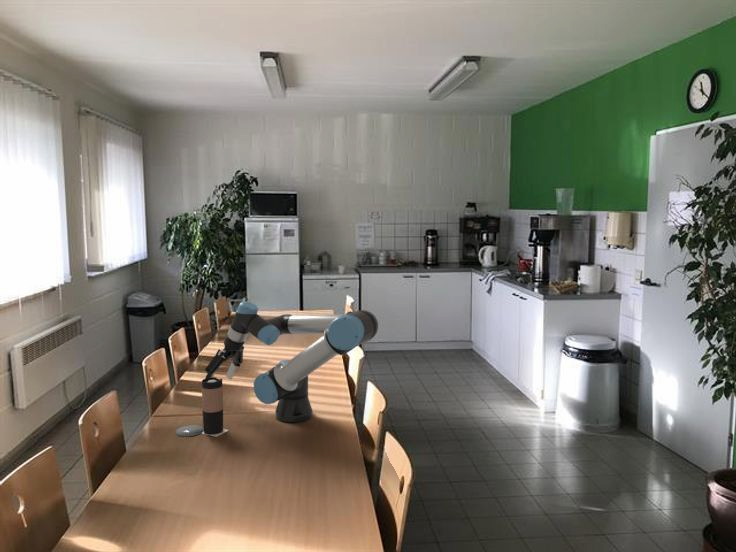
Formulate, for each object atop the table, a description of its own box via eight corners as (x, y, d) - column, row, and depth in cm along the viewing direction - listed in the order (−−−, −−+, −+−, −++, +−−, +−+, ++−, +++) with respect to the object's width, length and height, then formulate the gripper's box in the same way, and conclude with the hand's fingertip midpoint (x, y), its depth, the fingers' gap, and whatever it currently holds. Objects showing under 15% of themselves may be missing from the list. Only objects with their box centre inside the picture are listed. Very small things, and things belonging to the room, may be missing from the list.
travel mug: (202, 435, 220) (201, 383, 217) (203, 428, 227) (201, 377, 225) (224, 433, 222) (222, 382, 219) (223, 426, 229) (222, 376, 227)
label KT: (228, 430, 225) (228, 430, 225) (216, 436, 219) (216, 436, 219) (210, 426, 229) (210, 426, 229) (197, 432, 223) (197, 432, 223)
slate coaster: (209, 429, 227) (209, 427, 226) (190, 438, 218) (190, 436, 218) (189, 425, 231) (189, 423, 231) (170, 433, 222) (170, 432, 222)
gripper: (248, 328, 246) (231, 370, 252) (207, 338, 224) (189, 383, 230) (261, 337, 244) (243, 379, 249) (221, 348, 221) (202, 394, 227)
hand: (217, 381), depth 240 cm, fingers open, 13 cm apart
